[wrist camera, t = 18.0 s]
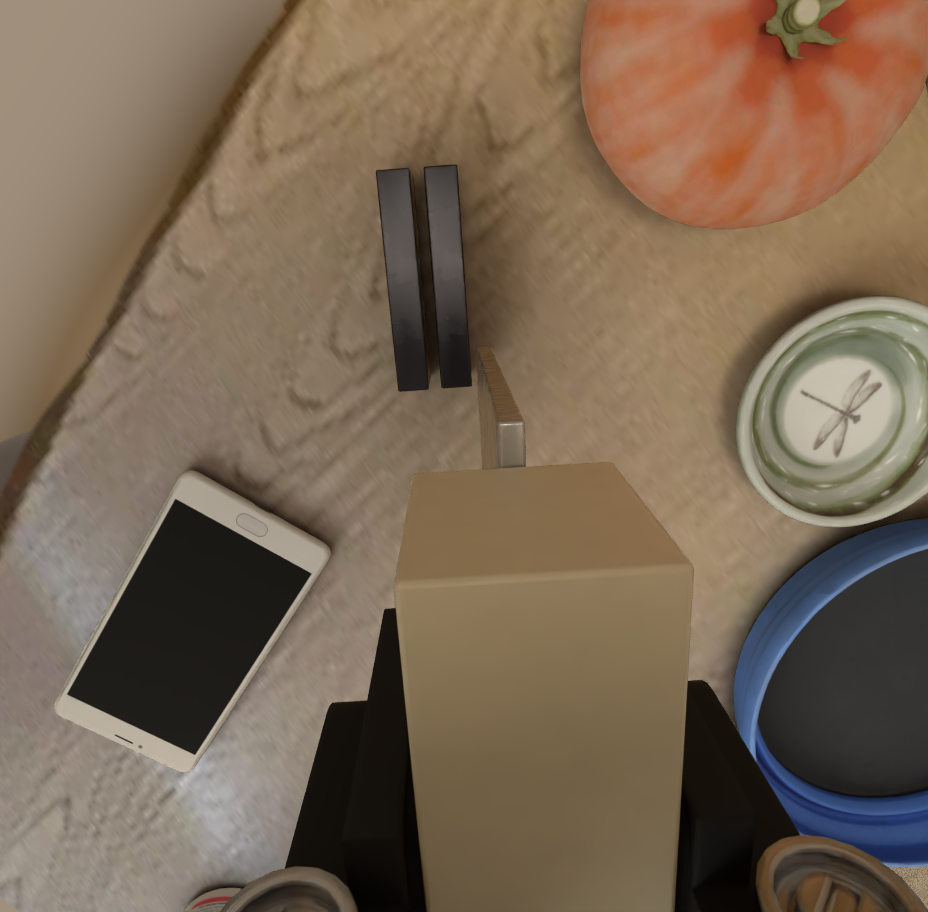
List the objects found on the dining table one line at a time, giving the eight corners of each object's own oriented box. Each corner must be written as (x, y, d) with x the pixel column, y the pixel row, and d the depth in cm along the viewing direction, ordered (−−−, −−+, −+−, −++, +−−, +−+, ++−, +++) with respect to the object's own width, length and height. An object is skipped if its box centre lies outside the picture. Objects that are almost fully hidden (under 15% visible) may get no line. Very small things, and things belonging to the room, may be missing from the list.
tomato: (533, 205, 25) (569, 183, 18) (598, -121, 22) (676, -320, 15) (791, 256, 26) (931, 256, 18) (889, -53, 23) (1107, -207, 15)
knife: (455, 726, 15) (460, 1263, 7) (427, 350, 13) (385, 519, 4) (547, 721, 15) (657, 1251, 7) (539, 343, 13) (700, 500, 4)
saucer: (762, 269, 26) (792, 270, 24) (975, 320, 27) (1025, 327, 25) (687, 484, 29) (708, 504, 27) (883, 526, 30) (919, 548, 27)
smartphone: (334, 552, 29) (188, 778, 32) (337, 546, 29) (193, 768, 33) (182, 466, 27) (47, 712, 31) (188, 462, 28) (55, 703, 32)
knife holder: (402, 380, 27) (398, 392, 25) (382, 178, 25) (375, 170, 23) (470, 375, 27) (472, 386, 25) (456, 173, 25) (457, 164, 23)
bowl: (1001, 821, 35) (1059, 881, 32) (684, 796, 34) (710, 854, 31) (1141, 523, 30) (1229, 557, 27) (771, 483, 29) (813, 513, 26)
